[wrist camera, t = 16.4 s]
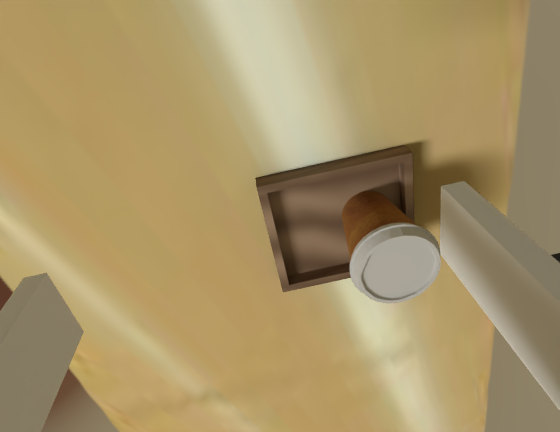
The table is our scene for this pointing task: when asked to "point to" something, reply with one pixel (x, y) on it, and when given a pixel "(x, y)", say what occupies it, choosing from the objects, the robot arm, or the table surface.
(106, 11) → the table surface
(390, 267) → the disposable coffee cup
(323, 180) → the walnut tray
